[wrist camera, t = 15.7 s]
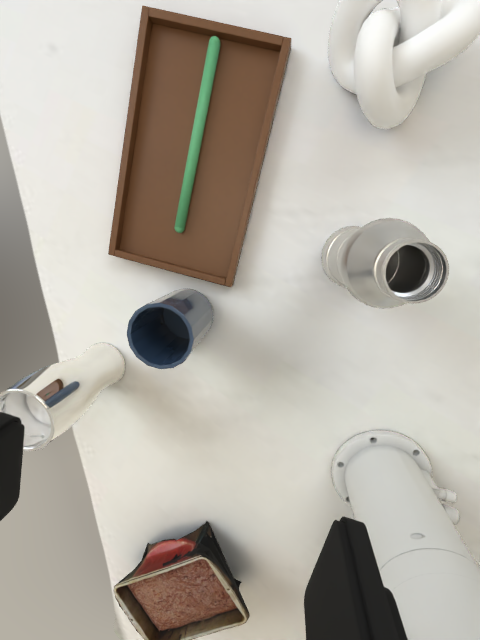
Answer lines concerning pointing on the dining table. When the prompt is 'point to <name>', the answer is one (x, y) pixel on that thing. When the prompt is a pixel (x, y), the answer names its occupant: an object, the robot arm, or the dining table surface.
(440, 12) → the white decorative knot
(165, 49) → the tray
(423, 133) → the dining table surface
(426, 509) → the robot arm
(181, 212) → the straw
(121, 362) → the beer glass
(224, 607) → the baking dish
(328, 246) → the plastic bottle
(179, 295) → the tumbler
